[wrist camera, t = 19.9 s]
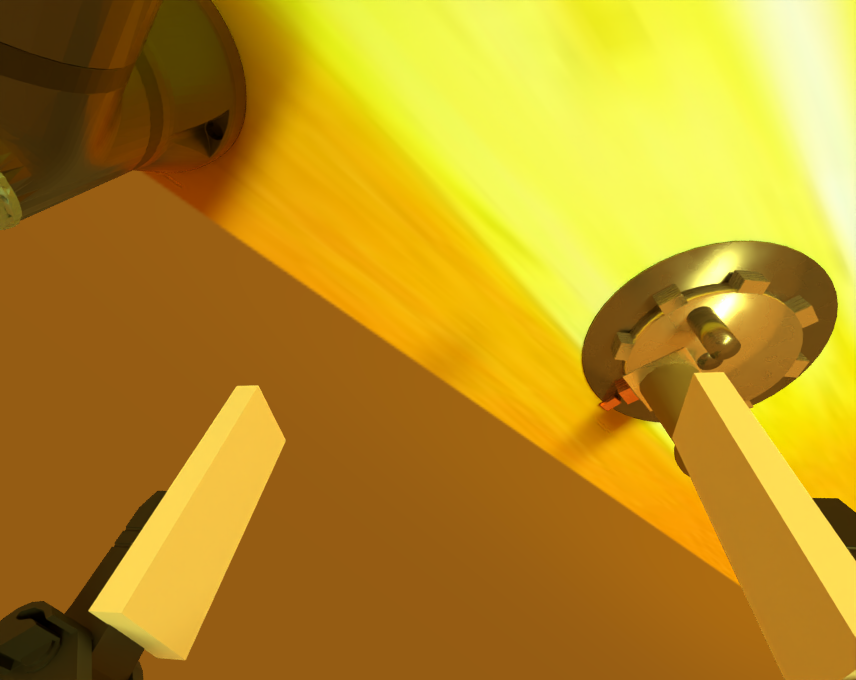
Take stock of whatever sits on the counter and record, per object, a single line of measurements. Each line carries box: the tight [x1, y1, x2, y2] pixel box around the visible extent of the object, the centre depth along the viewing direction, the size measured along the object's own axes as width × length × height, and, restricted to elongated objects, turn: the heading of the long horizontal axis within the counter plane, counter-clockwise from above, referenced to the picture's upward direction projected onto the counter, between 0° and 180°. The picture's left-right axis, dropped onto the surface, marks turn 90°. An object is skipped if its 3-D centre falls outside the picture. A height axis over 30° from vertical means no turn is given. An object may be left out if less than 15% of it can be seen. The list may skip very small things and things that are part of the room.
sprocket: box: [610, 270, 819, 411], centre depth 42 cm, size 19×19×7 cm
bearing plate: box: [583, 241, 838, 422], centre depth 45 cm, size 24×24×1 cm
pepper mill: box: [640, 363, 700, 477], centre depth 41 cm, size 6×6×11 cm
